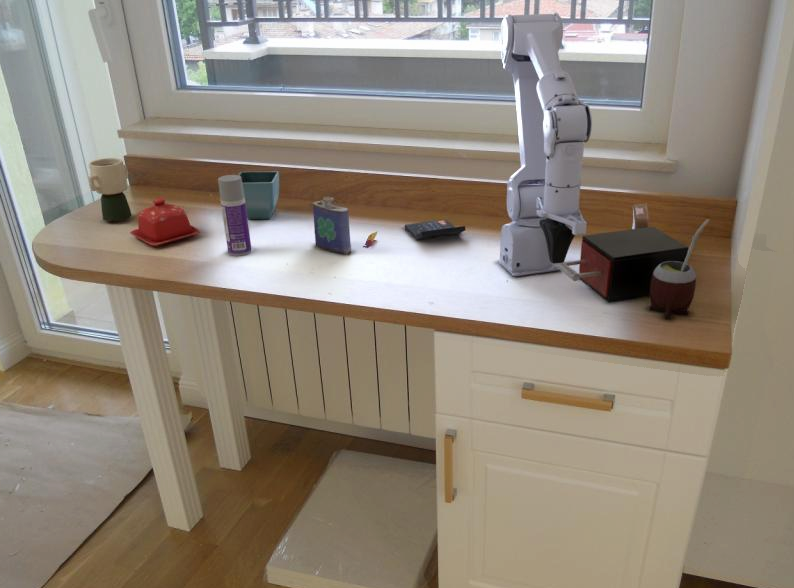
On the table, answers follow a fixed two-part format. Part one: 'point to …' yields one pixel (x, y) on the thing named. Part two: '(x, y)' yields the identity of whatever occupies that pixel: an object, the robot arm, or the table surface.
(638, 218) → the tin
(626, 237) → the black storage chest
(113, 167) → the character mug
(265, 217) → the flower pot
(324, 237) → the flask
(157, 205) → the butter dish
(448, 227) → the calculator
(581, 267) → the drawer
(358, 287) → the table surface
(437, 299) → the table surface
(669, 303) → the mate gourd
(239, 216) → the container
